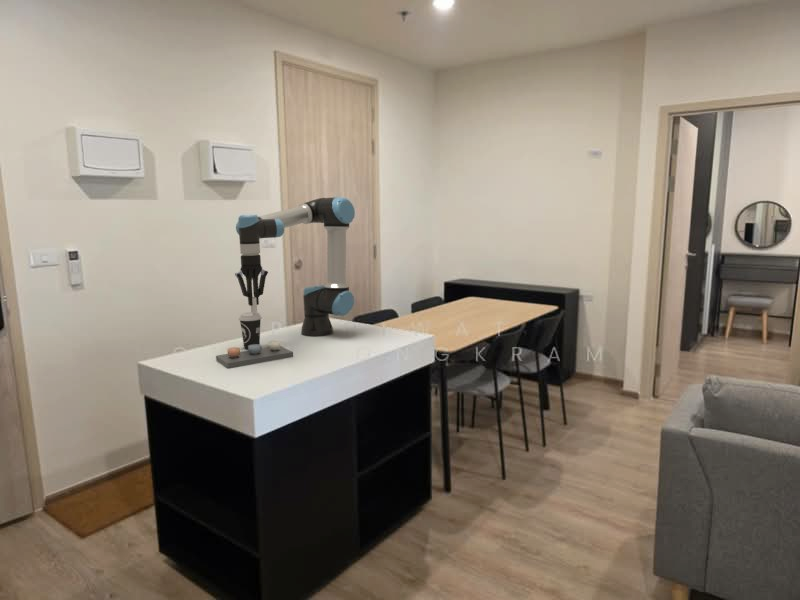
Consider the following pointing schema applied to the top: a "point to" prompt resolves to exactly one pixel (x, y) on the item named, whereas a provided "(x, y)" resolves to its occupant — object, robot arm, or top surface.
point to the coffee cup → (250, 328)
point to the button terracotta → (233, 352)
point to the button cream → (274, 345)
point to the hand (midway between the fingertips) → (254, 313)
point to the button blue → (254, 349)
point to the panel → (253, 357)
